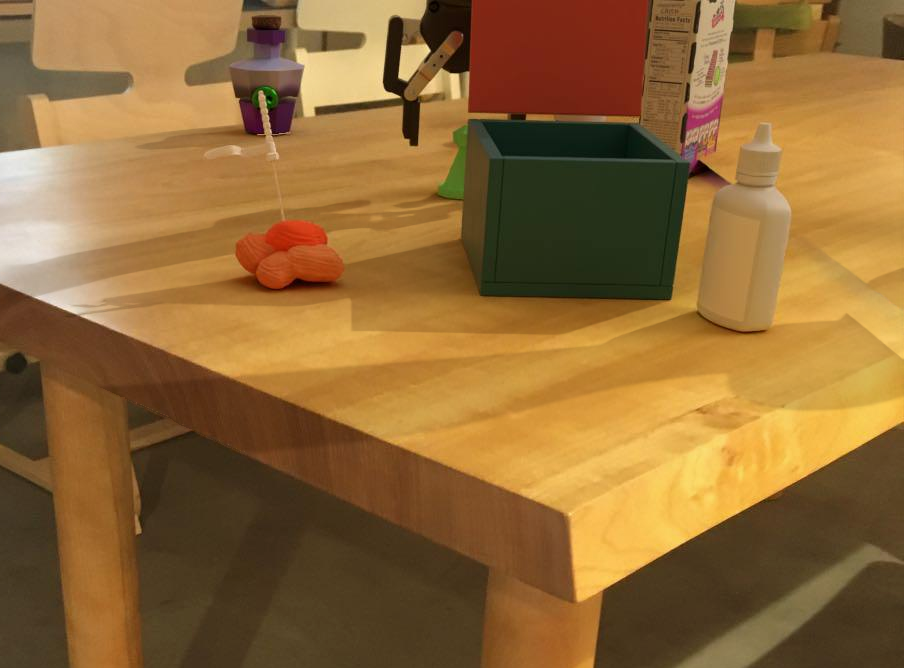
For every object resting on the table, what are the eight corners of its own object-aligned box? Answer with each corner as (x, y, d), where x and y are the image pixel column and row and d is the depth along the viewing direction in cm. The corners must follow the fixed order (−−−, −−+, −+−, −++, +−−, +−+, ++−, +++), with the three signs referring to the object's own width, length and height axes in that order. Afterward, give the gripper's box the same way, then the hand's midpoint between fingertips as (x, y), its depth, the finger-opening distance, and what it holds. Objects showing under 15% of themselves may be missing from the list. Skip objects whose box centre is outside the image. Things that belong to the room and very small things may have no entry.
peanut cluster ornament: (227, 262, 89) (222, 84, 83) (356, 274, 87) (360, 92, 81) (195, 284, 83) (188, 95, 78) (331, 298, 81) (334, 105, 76)
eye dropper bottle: (700, 331, 77) (732, 129, 71) (694, 305, 82) (722, 114, 76) (773, 336, 76) (810, 133, 71) (762, 310, 81) (796, 118, 76)
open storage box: (671, 299, 83) (691, 162, 79) (480, 295, 83) (489, 157, 79) (624, 241, 97) (638, 122, 93) (460, 238, 97) (467, 118, 93)
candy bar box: (667, 160, 129) (690, -13, 121) (714, 166, 126) (741, -10, 119) (627, 177, 120) (650, -8, 112) (678, 184, 118) (704, -5, 110)
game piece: (427, 194, 111) (431, 124, 108) (456, 187, 114) (460, 119, 111) (467, 202, 108) (471, 130, 106) (495, 194, 111) (500, 125, 109)
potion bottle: (241, 140, 133) (238, 18, 128) (219, 127, 140) (216, 11, 135) (317, 136, 136) (318, 18, 131) (292, 124, 143) (292, 11, 138)
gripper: (555, -57, 105) (536, 141, 113) (387, -63, 105) (379, 136, 112) (569, -54, 99) (548, 157, 106) (389, -60, 98) (381, 151, 106)
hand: (461, 146), depth 109 cm, fingers open, 8 cm apart
